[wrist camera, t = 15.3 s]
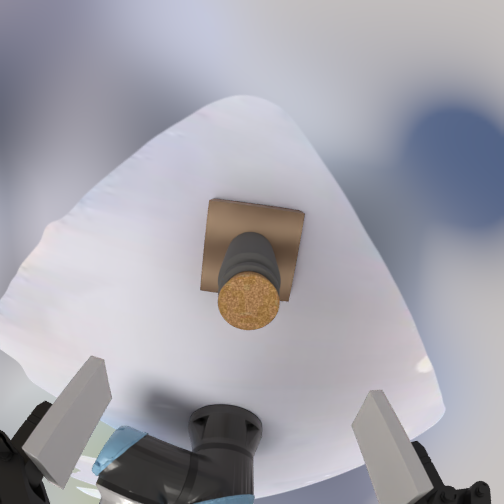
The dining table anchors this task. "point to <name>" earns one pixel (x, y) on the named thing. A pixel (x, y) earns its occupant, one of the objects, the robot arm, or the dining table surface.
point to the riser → (251, 220)
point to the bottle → (249, 282)
